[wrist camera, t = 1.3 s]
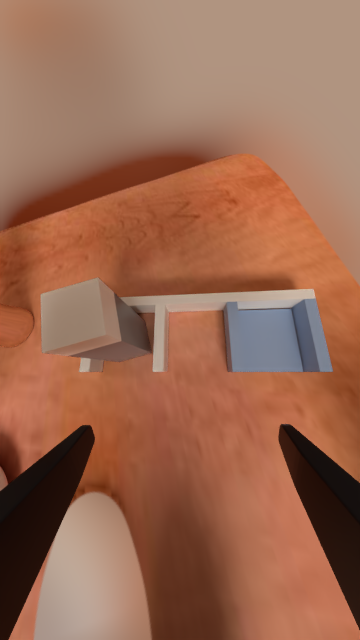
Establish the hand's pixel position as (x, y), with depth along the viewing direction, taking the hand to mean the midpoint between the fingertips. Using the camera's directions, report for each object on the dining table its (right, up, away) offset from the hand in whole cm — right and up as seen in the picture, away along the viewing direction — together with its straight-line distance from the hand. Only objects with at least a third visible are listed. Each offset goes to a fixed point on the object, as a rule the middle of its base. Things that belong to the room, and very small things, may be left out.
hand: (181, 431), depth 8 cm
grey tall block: (-7, +2, +16) cm, 17 cm away
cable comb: (+2, +3, +15) cm, 15 cm away
